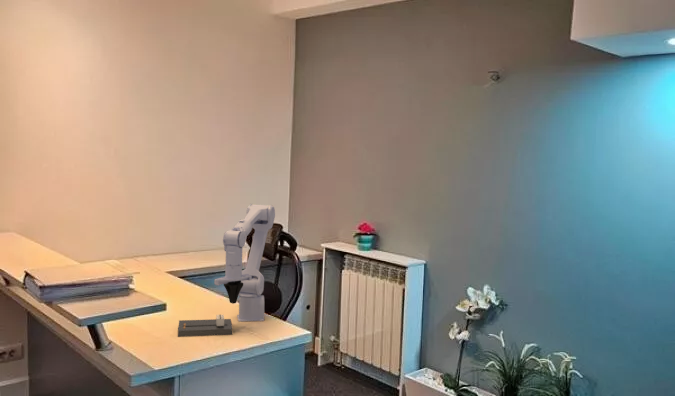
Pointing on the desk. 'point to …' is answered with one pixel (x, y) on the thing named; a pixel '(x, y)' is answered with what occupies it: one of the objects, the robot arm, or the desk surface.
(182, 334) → the fader console
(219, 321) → the fader knob
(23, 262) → the desk surface
